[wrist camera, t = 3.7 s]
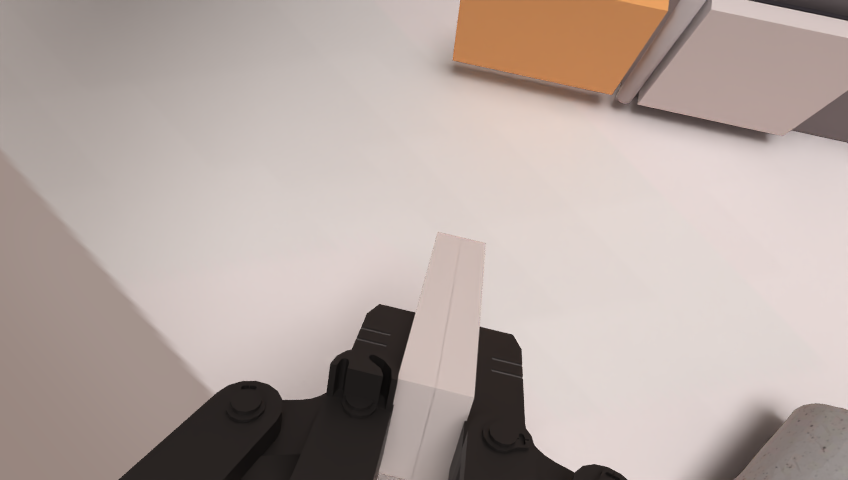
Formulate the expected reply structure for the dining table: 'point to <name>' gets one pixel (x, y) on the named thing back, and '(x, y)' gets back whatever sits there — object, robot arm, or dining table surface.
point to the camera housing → (836, 119)
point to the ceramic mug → (805, 447)
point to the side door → (669, 54)
